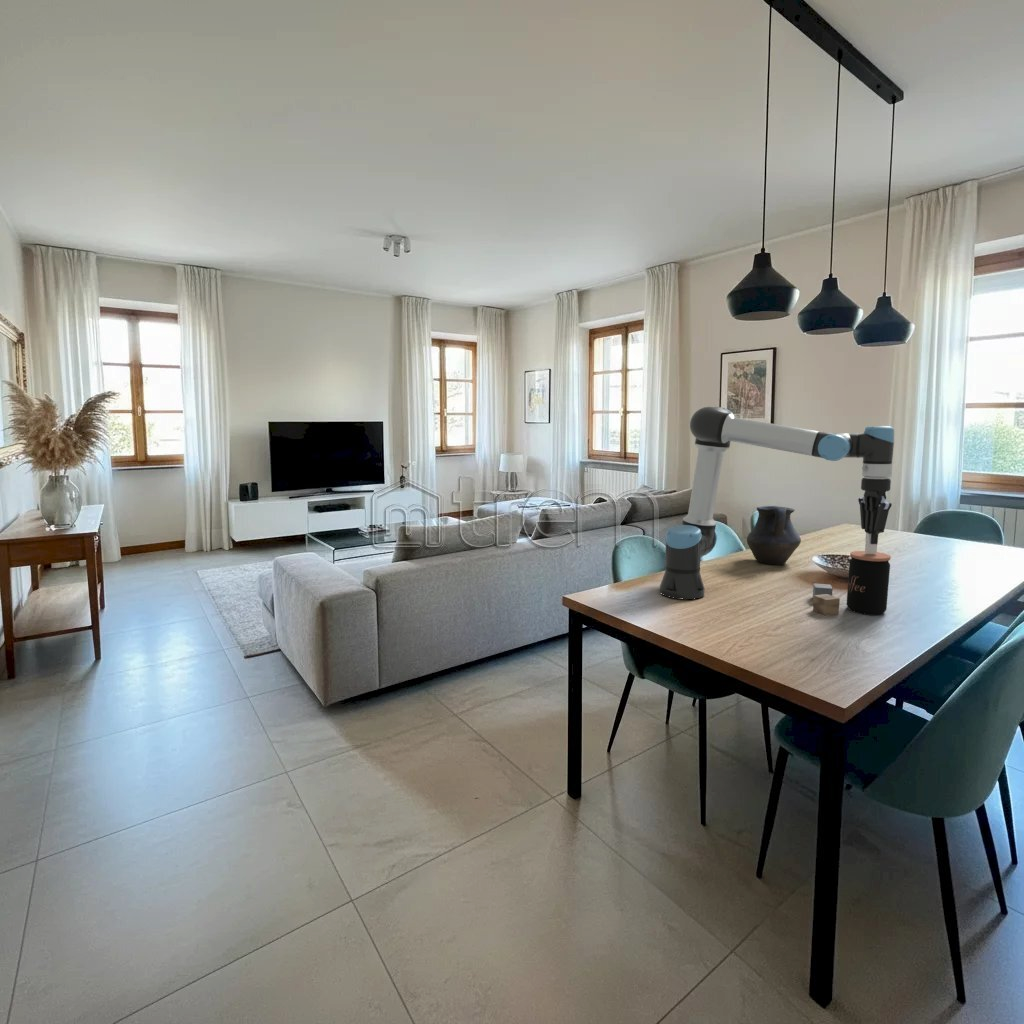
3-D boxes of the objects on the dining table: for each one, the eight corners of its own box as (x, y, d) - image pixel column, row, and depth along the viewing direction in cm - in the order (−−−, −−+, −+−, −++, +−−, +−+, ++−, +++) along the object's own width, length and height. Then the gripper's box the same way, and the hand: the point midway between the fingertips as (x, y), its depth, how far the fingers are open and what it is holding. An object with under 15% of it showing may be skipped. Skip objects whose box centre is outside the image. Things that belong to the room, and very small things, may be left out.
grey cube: (812, 597, 194) (813, 583, 193) (829, 599, 192) (830, 584, 191) (814, 601, 189) (815, 587, 188) (831, 603, 187) (832, 588, 186)
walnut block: (812, 610, 180) (813, 595, 180) (826, 609, 182) (827, 593, 181) (825, 615, 176) (826, 599, 175) (838, 614, 177) (839, 598, 176)
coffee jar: (841, 604, 186) (845, 550, 183) (877, 606, 183) (882, 551, 181) (853, 615, 175) (857, 557, 172) (892, 616, 173) (897, 559, 170)
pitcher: (791, 557, 250) (794, 501, 246) (806, 569, 229) (810, 508, 225) (741, 556, 254) (744, 500, 250) (752, 568, 233) (755, 507, 229)
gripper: (851, 476, 180) (846, 549, 183) (876, 479, 167) (871, 558, 170) (875, 475, 179) (870, 549, 183) (902, 479, 167) (896, 558, 170)
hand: (870, 553), depth 177 cm, fingers closed
